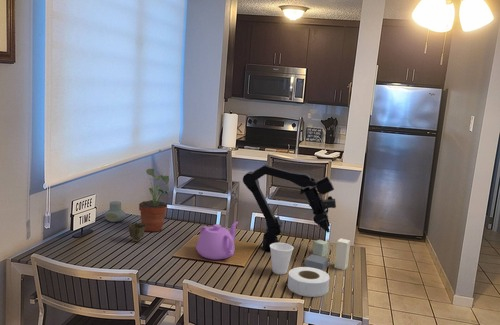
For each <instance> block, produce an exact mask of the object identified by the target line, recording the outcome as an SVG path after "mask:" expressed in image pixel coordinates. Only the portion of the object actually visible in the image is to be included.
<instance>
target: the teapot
mask: <svg viewBox="0 0 500 325" xmlns="http://www.w3.org/2000/svg"><path fill="white" fill-rule="evenodd" d="M238 224H239V221H238V220H236V221H235V222H233V223H232V225H231V227H230V230H228V228H226V227H222V225H221V224H217V223H216V224H215V223H214V224H213V225H212V226H207V225H204V226H202V227H201V228H200V232H199V233H200V235H199V237H198V239H197V241H196V246H195V247H196V252H197V253H198V254H199V256H201V257H203V258H204V259H209V260H213V261H214V260H215V261H216V260H224V259H228V258H230V257H232V256H234V253H235V249H236V245H235V240H236V227H237V225H238Z"/></svg>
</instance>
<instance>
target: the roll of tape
mask: <svg viewBox="0 0 500 325" xmlns="http://www.w3.org/2000/svg"><path fill="white" fill-rule="evenodd" d="M330 278H331V277H330V275H329V274H328V273H327V272H326V271H325V270H324V271H322V270H320V269H316V268H311V267H305V266H300V267H299V266H298V267H294V268H292V269H290V270H288V277H287V288H288V289H289V291H291V292H292V293H294V294H296V295H299V296H303V297H309V298H310V297H312V298H315V297H316V298H317V297H321V296H325V295H327V294H328V293H329V290H330V288H329V286H330Z"/></svg>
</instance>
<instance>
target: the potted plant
mask: <svg viewBox="0 0 500 325" xmlns="http://www.w3.org/2000/svg"><path fill="white" fill-rule="evenodd" d="M145 171H146V174H147V175H149V177H150V178H149V179H150V184H151V187H149V188H148V189H149V193H150V195H152V199H151V200H143V201H142V202H140V203H139V205H138V210H139V212H140V221H141V222H140V224H141V225H142V224H143V223H144V224H145V230H144V232H153V233H154V232H160V231H162V230H163V227H164V226H163V225H164V222H165V214H166V212H167V211H168V203H166V202H164V201H161V200H160V199H161V198H162V197H163V196H164V195H166V194H167V195H170V194H169V190H167V191H166V190H164V189H162V188H161V187H160V186H161V184H159V185H158V186H154V188H153V182H152V177H154V181H157V180H160V178H161V180H160V182H162V181H163V182H164V183H165V184H166V185H168V184H169V181H170V177H169V175H162V174H160V172H158V175H155V169H154V168H148V169H146V170H145ZM156 189H157V191H156ZM160 193H161V194H160Z"/></svg>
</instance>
